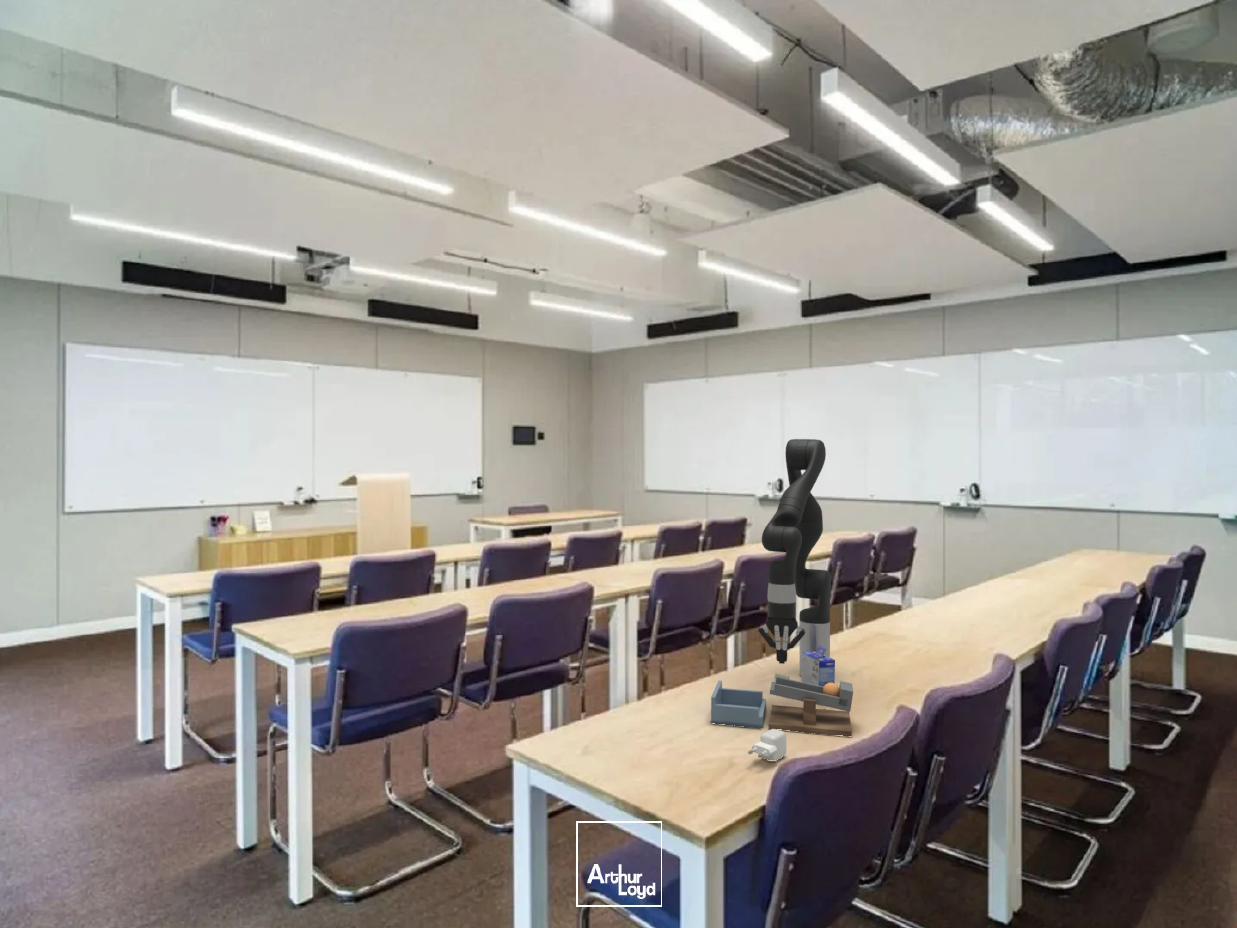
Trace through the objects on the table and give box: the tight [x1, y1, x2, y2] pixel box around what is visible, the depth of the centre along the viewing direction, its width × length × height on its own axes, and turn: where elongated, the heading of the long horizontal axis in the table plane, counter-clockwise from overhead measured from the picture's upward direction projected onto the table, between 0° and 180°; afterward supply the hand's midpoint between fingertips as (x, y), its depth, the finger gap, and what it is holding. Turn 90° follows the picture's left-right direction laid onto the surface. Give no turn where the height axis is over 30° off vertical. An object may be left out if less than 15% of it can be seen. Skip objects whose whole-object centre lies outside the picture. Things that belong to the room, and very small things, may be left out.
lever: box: [769, 673, 854, 713], centre depth 189 cm, size 15×20×6 cm
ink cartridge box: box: [800, 646, 836, 687], centre depth 204 cm, size 10×6×14 cm, turn 15°
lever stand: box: [768, 699, 853, 737], centre depth 186 cm, size 14×20×8 cm
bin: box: [710, 680, 767, 729], centre depth 191 cm, size 14×13×7 cm
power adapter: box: [747, 729, 787, 760], centre depth 163 cm, size 11×5×6 cm, turn 137°
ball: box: [823, 683, 839, 697], centre depth 184 cm, size 4×4×4 cm
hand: (781, 662), depth 196 cm, fingers closed
